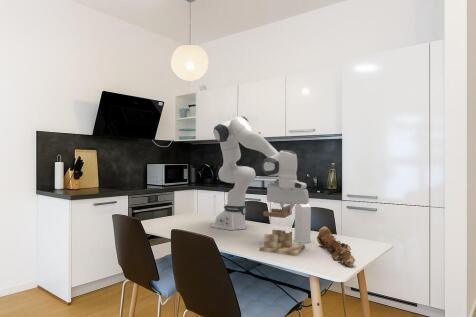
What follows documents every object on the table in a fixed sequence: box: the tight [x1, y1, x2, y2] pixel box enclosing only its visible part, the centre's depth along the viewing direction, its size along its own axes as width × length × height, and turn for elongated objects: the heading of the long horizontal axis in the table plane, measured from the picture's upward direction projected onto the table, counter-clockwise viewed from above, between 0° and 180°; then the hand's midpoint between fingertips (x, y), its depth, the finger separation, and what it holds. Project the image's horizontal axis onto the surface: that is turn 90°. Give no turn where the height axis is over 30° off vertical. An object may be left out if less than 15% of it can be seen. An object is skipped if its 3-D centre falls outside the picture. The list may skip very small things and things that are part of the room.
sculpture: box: [316, 226, 356, 267], centre depth 150 cm, size 9×14×35 cm
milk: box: [294, 203, 312, 244], centre depth 174 cm, size 6×6×22 cm
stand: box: [259, 228, 306, 257], centre depth 158 cm, size 18×16×8 cm
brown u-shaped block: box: [263, 204, 293, 219], centre depth 159 cm, size 10×13×4 cm
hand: (286, 212), depth 157 cm, fingers closed on brown u-shaped block
